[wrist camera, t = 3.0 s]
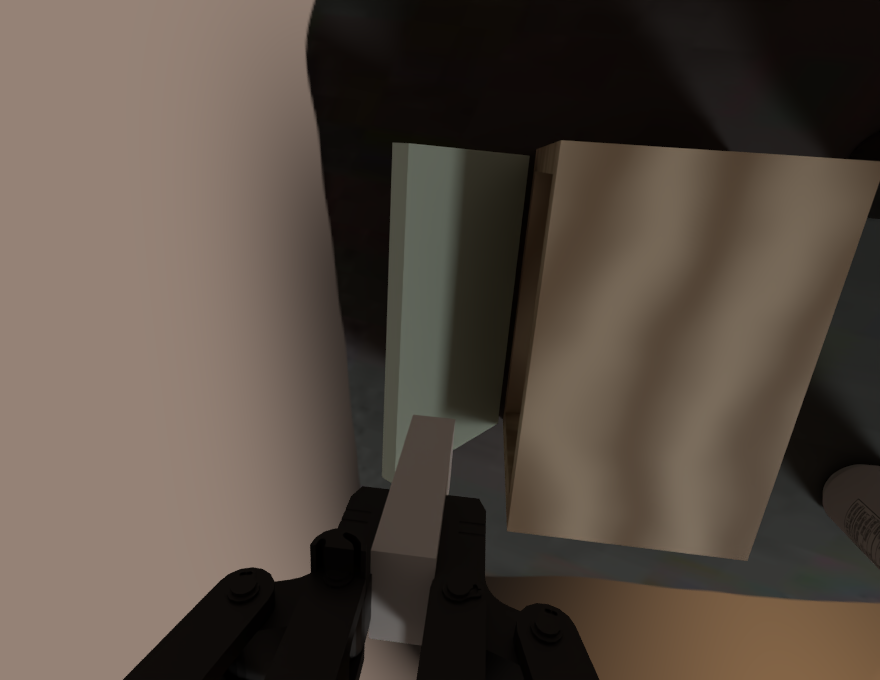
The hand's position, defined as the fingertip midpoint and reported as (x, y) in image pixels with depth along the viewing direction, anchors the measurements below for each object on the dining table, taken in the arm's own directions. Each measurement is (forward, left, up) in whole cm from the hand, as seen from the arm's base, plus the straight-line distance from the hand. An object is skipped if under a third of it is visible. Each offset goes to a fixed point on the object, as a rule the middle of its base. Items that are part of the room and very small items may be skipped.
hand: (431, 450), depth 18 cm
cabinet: (-11, 0, -24) cm, 26 cm away
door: (-3, 0, -23) cm, 23 cm away
